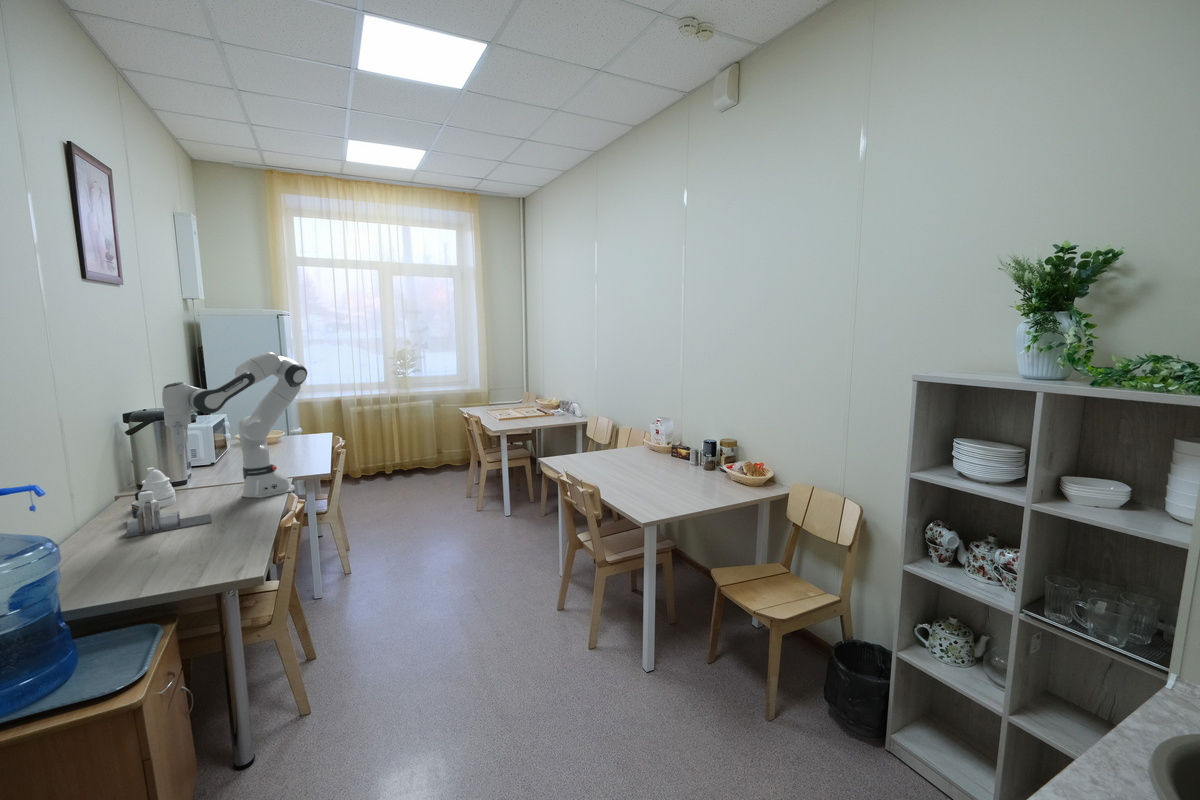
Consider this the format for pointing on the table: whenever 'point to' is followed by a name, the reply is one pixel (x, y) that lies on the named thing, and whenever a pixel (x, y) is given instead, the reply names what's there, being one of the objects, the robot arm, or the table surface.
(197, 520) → the rail
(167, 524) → the orange-striped grey block
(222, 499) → the table surface
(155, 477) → the honey pot
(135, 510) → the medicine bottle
